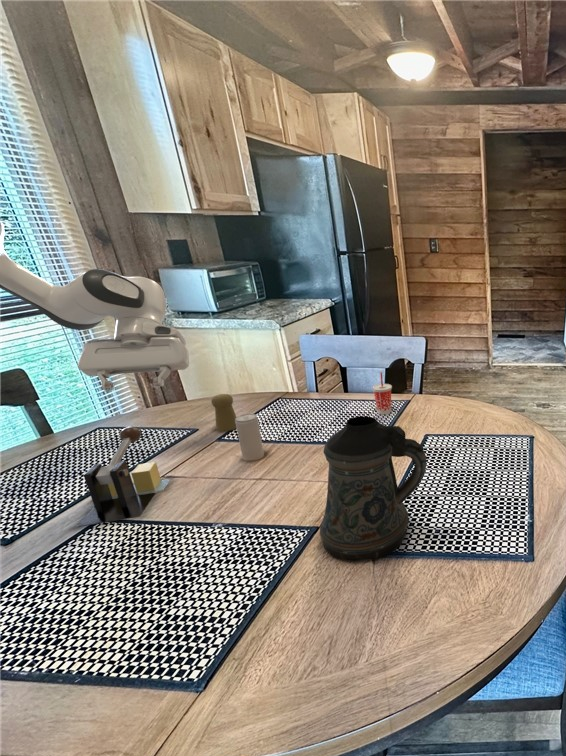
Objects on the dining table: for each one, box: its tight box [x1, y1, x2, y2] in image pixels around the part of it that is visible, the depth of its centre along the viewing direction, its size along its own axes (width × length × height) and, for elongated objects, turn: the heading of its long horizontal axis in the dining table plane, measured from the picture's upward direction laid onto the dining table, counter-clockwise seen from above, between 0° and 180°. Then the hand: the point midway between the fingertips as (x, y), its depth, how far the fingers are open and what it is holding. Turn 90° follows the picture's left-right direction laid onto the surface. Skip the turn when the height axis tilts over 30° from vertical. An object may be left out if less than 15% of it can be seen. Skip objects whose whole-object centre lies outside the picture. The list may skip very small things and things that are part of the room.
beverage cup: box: [372, 371, 393, 415], centre depth 138 cm, size 6×6×14 cm
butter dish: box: [112, 478, 171, 499], centre depth 93 cm, size 12×5×1 cm, turn 112°
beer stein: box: [319, 415, 428, 562], centre depth 79 cm, size 16×19×25 cm
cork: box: [210, 393, 238, 432], centre depth 123 cm, size 6×6×11 cm
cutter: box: [76, 460, 158, 528], centre depth 85 cm, size 9×10×11 cm
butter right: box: [130, 461, 162, 493], centre depth 93 cm, size 3×4×5 cm
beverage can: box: [235, 413, 265, 462], centre depth 107 cm, size 5×5×12 cm
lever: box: [96, 426, 142, 485], centre depth 89 cm, size 16×4×4 cm, turn 21°
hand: (133, 387), depth 97 cm, fingers open, 8 cm apart
